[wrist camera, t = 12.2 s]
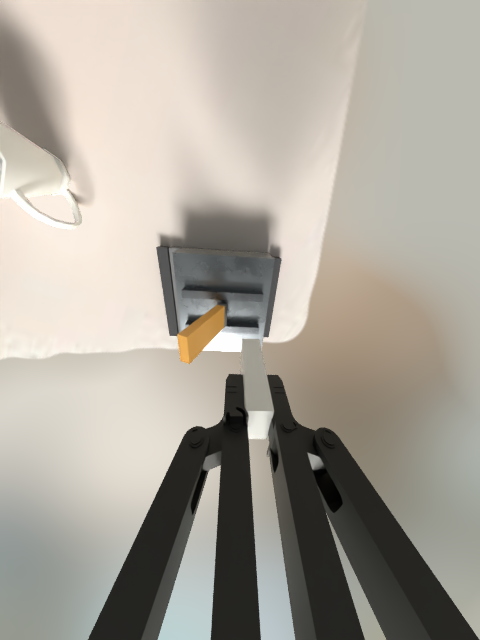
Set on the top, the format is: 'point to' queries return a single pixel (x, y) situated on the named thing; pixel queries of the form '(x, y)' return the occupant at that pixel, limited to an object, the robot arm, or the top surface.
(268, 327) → the dark gray bar
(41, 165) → the cup
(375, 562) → the robot arm
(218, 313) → the lever
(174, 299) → the gray slab
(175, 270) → the box
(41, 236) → the top surface
